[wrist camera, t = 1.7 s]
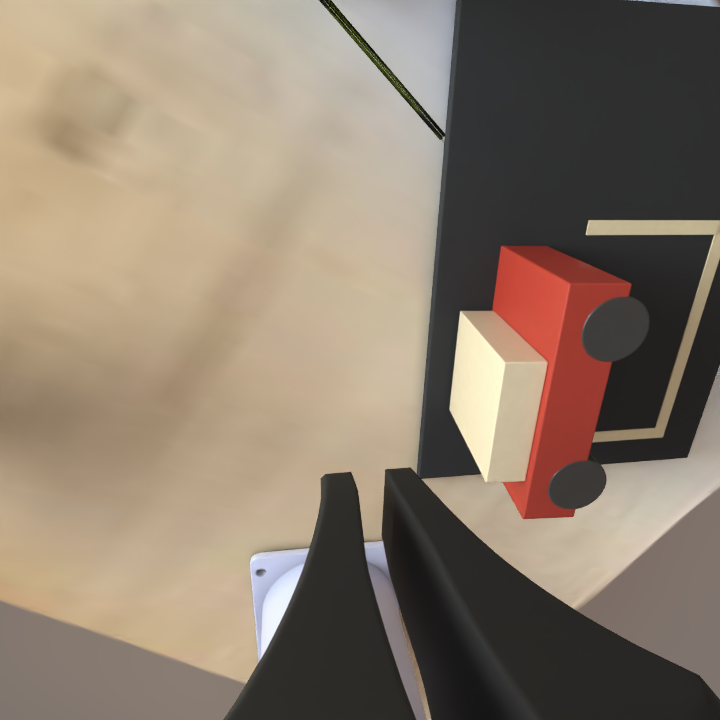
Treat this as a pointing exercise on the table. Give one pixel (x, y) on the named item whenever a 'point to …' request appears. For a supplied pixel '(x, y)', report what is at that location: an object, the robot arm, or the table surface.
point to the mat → (586, 197)
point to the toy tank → (349, 25)
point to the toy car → (542, 376)
